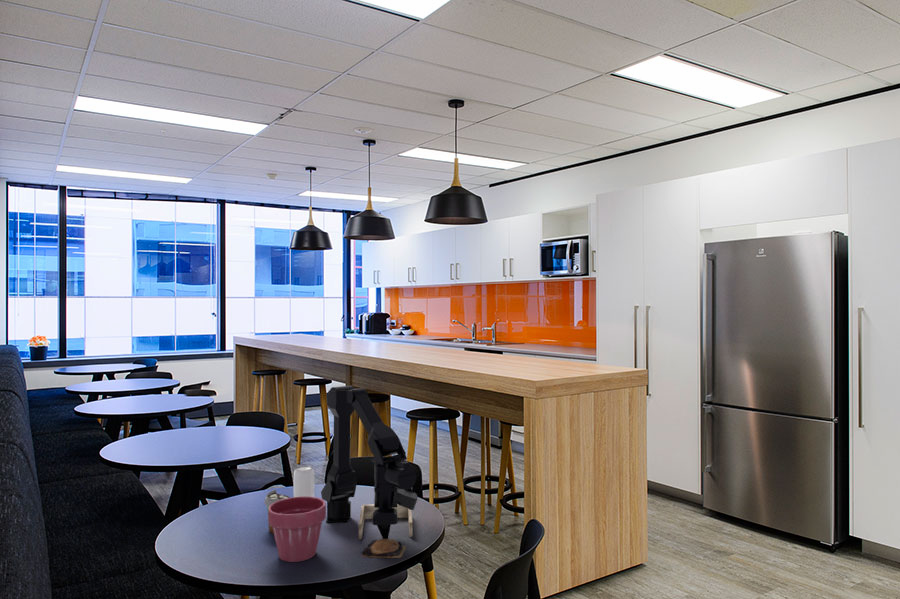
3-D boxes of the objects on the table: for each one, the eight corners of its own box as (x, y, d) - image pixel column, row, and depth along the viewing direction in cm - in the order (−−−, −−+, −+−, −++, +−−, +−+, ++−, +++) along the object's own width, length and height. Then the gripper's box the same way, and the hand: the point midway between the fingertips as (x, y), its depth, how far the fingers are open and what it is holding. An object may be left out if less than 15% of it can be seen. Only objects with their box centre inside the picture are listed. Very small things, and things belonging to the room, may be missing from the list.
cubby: (358, 539, 166) (358, 524, 166) (361, 518, 183) (361, 504, 183) (412, 537, 168) (412, 522, 168) (410, 516, 184) (410, 503, 184)
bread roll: (407, 548, 161) (407, 534, 161) (400, 561, 153) (400, 546, 153) (368, 546, 163) (368, 532, 163) (359, 558, 154) (359, 544, 154)
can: (311, 508, 192) (311, 470, 192) (291, 508, 192) (291, 470, 192) (316, 502, 198) (316, 465, 199) (296, 502, 199) (296, 465, 199)
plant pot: (277, 571, 146) (277, 517, 146) (261, 551, 158) (261, 502, 158) (334, 558, 154) (334, 507, 154) (315, 540, 166) (314, 493, 166)
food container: (256, 529, 174) (255, 494, 174) (275, 523, 179) (275, 489, 179) (279, 540, 166) (279, 503, 166) (299, 533, 171) (299, 497, 171)
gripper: (416, 490, 154) (417, 552, 154) (414, 471, 173) (414, 526, 173) (372, 492, 153) (372, 554, 153) (374, 472, 172) (374, 528, 172)
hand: (385, 540), depth 163 cm, fingers closed
